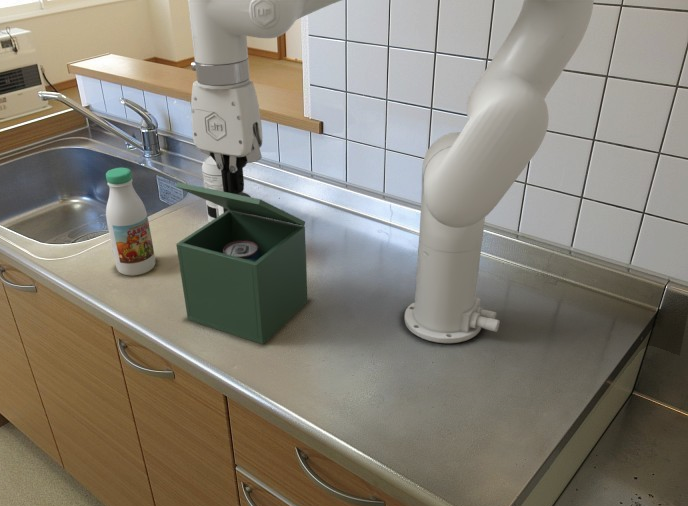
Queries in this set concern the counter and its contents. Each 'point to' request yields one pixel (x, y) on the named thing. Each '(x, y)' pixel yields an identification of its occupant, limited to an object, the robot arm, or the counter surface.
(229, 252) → the soda can
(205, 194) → the bread box lid
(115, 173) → the milk bottle
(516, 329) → the counter surface
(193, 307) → the bread box
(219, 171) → the supplement can
